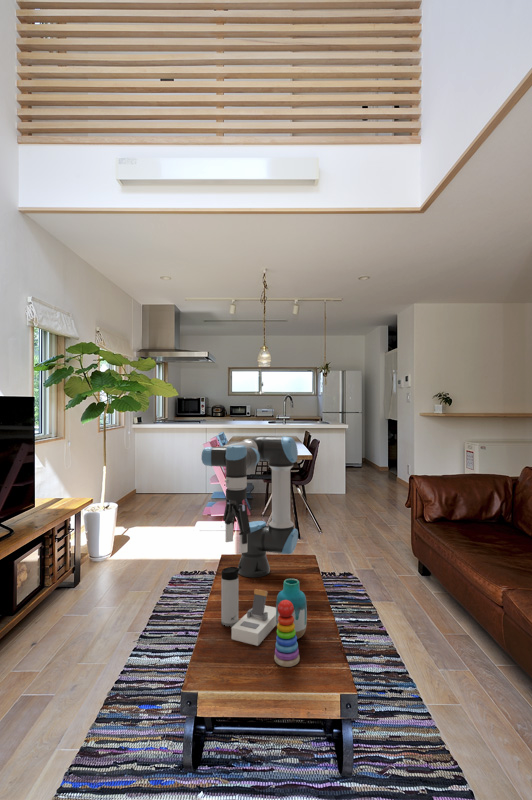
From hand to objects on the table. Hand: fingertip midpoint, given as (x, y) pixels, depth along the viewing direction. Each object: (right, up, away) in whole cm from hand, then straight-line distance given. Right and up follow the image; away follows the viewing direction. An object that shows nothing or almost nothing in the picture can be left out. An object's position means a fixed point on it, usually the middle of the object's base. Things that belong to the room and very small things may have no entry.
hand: (236, 546), depth 165 cm
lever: (+8, -23, -2) cm, 25 cm away
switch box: (+8, -28, -2) cm, 30 cm away
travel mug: (-2, -29, +2) cm, 29 cm away
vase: (+20, -29, -8) cm, 36 cm away
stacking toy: (+17, -29, -22) cm, 40 cm away
